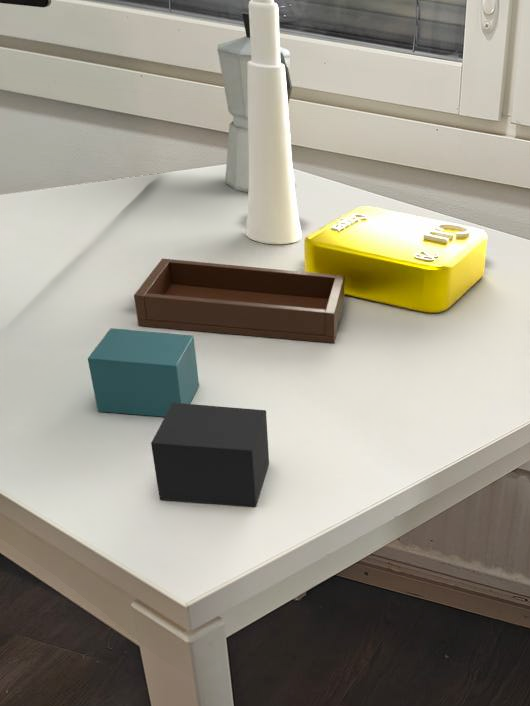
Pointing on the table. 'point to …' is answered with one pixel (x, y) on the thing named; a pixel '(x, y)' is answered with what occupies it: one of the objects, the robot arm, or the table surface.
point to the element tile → (398, 258)
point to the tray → (241, 300)
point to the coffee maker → (241, 103)
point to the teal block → (143, 371)
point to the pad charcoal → (211, 454)
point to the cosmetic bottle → (269, 134)
